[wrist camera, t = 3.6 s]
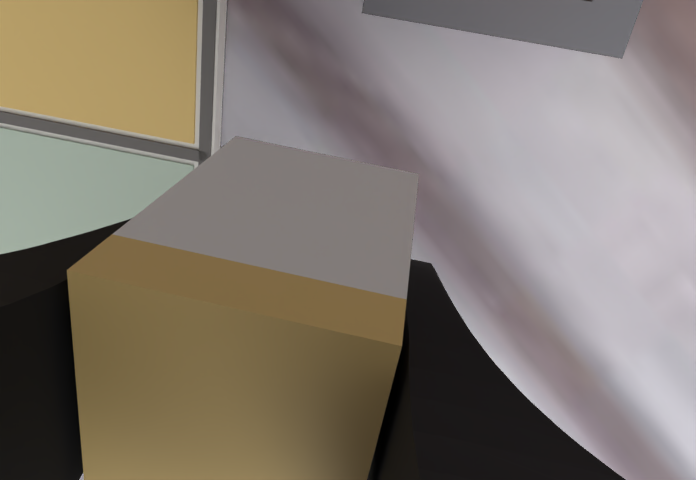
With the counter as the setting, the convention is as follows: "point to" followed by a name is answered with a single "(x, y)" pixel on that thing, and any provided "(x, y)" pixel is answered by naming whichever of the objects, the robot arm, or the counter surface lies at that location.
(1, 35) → the yellow and green board
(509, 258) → the counter surface
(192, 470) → the yellow-capped white block
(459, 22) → the button housing
